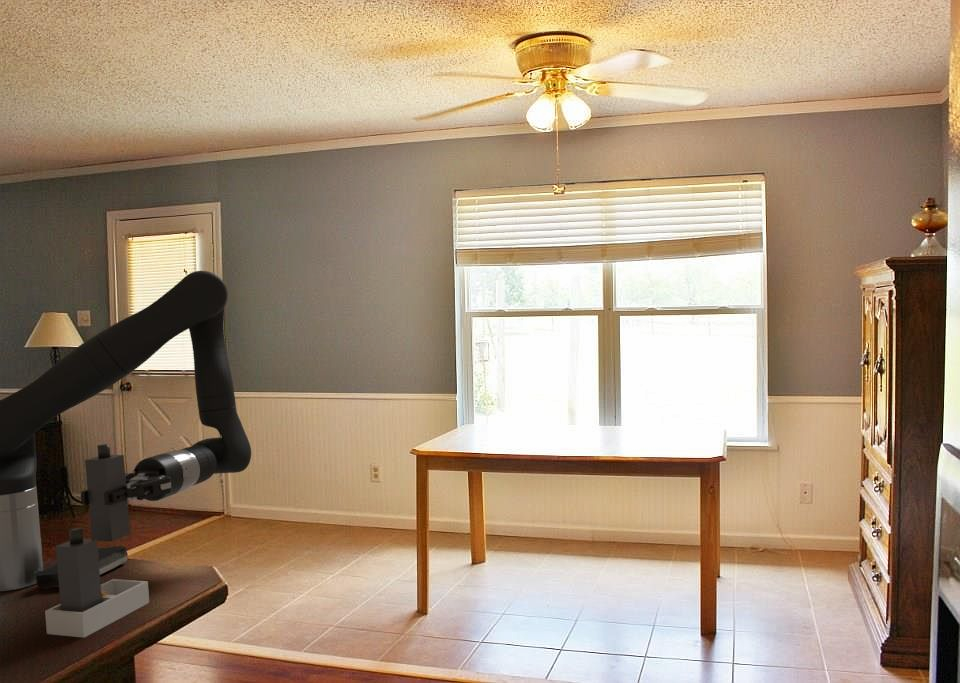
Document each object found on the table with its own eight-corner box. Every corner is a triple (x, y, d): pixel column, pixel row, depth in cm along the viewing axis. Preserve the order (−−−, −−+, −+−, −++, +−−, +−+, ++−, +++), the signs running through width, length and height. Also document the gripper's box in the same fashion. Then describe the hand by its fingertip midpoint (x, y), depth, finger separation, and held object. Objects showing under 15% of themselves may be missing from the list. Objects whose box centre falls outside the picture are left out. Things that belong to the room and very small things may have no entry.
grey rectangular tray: (84, 640, 121) (82, 610, 121) (47, 636, 124) (44, 606, 123) (149, 605, 135) (147, 577, 134) (114, 602, 137) (112, 575, 137)
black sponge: (71, 594, 143) (70, 573, 143) (31, 592, 145) (29, 572, 145) (133, 563, 159) (131, 545, 159) (95, 562, 161) (94, 544, 161)
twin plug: (83, 632, 123) (75, 534, 122) (62, 630, 124) (54, 533, 124) (103, 621, 127) (96, 526, 126) (82, 620, 128) (75, 525, 127)
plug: (112, 541, 129) (104, 447, 128) (91, 540, 130) (83, 447, 130) (130, 534, 133) (122, 442, 132) (110, 533, 134) (102, 442, 133)
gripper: (132, 452, 147) (56, 474, 131) (199, 453, 143) (129, 475, 126) (136, 494, 147) (60, 520, 131) (203, 495, 143) (133, 523, 127)
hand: (94, 498), depth 129 cm, fingers closed on plug, 4 cm apart
